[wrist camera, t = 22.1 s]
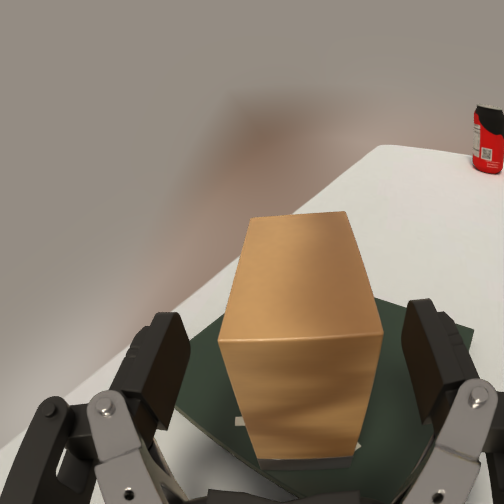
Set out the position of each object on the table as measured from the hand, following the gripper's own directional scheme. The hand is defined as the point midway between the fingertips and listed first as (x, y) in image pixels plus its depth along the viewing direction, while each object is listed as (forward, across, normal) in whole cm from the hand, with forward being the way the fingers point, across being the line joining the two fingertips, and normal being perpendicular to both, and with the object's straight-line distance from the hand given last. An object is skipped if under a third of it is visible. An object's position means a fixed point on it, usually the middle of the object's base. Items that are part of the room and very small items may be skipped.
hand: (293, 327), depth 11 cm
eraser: (+1, 0, +7) cm, 7 cm away
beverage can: (+42, -37, +8) cm, 57 cm away
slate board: (+4, -1, +8) cm, 9 cm away
